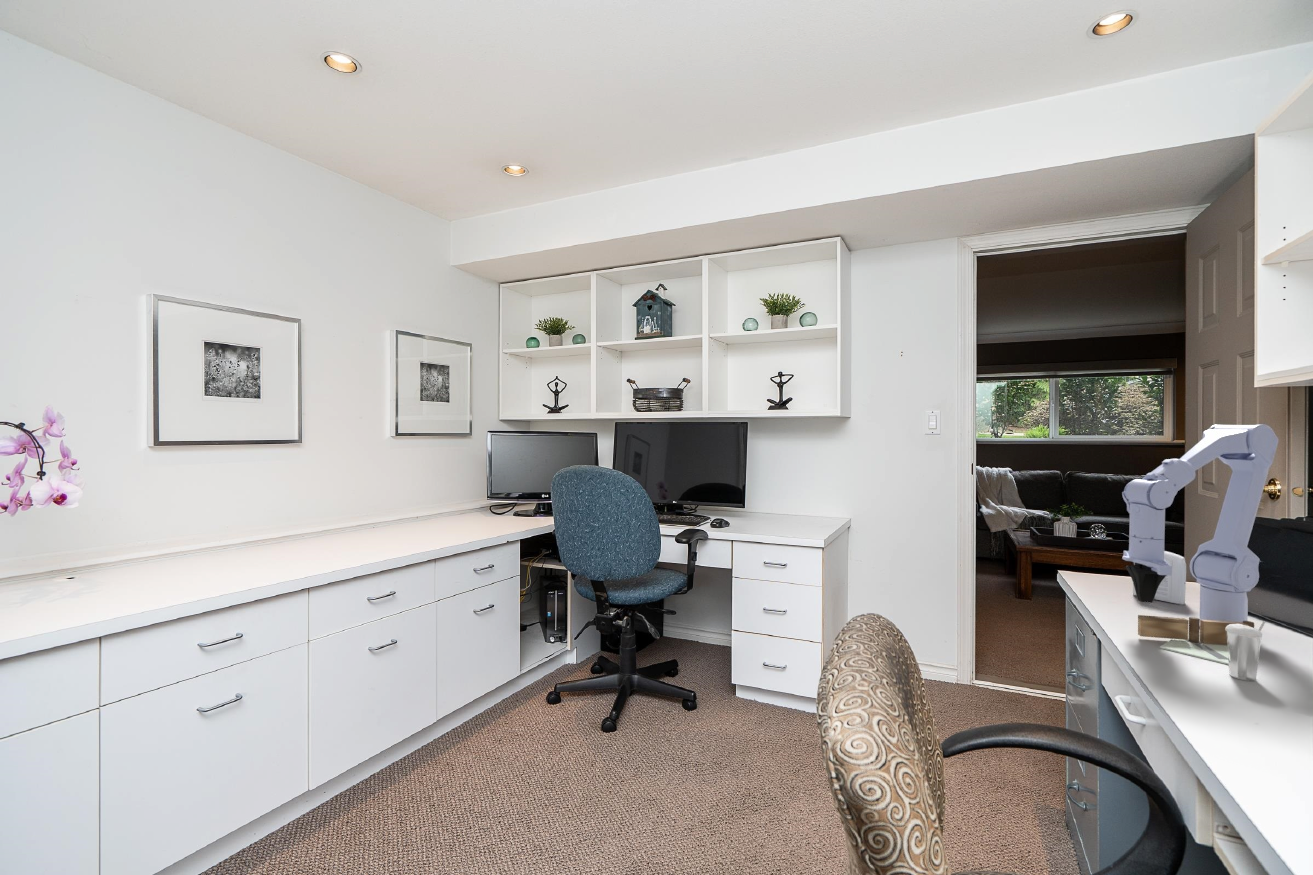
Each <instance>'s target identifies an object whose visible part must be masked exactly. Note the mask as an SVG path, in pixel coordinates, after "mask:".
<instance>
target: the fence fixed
mask: <svg viewBox="0 0 1313 875" xmlns="http://www.w3.org/2000/svg"><path fill="white" fill-rule="evenodd" d="M1229 624H1242V625H1246V626H1250V627H1253V628H1255V622H1253V621H1249V620H1247V621H1243V622H1230V621H1216V620H1202V619H1200V617H1199V618H1198V617H1193V616H1190V617H1188V632H1189V638H1188V641H1190V642H1193V643H1199V634H1200V642H1202V643H1207V644H1220V645H1227V639H1226V630H1225V628H1226V626H1228V625H1229ZM1199 626H1200V628H1199Z"/></svg>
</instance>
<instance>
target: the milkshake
mask: <svg viewBox="0 0 1313 875" xmlns="http://www.w3.org/2000/svg"><path fill="white" fill-rule="evenodd" d="M1265 623H1266V621H1264V620H1263V621H1262V623H1261V625H1260V627H1259V628H1258V629H1257V628H1255V627H1254V628H1253V627H1250V626H1246V625H1242V624H1229V625H1228V626H1226V628H1225V630H1226V639H1227V649H1228V662H1229V665H1228V672H1229V675H1230V676H1231V677H1233V678H1235V679H1237V680H1242V681H1245V682H1255V681H1256V680H1257V675H1258V668H1259V658H1260V653H1261V652H1260V650H1261V643H1262V638H1263V633H1262V629H1263V628H1264V626H1265Z"/></svg>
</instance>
